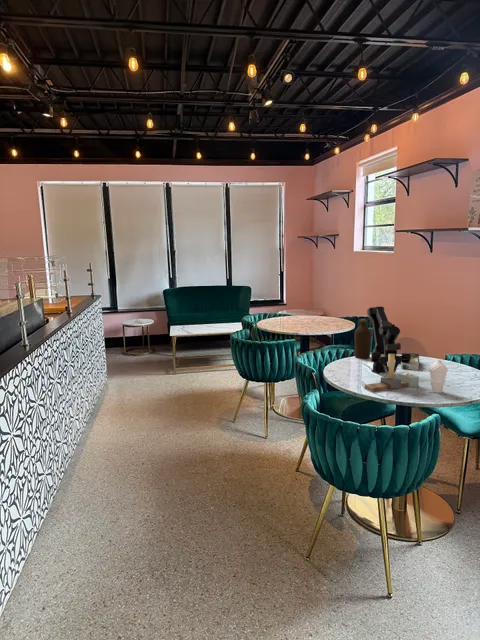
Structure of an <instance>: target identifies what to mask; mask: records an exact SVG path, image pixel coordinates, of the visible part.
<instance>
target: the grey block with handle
mask: <svg viewBox="0 0 480 640" xmlns="http://www.w3.org/2000/svg"><path fill="white" fill-rule="evenodd" d="M387 364H388V372H387V376H381V377H380V382H384V383H387V384H389V385H390V388H395V389H398V388H397V387H401V380H400V379H397V377H395V373H394V367H395V354H393V353H389V354H388V362H387ZM401 388H402V387H401Z"/></svg>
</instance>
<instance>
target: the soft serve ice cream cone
mask: <svg viewBox="0 0 480 640" xmlns="http://www.w3.org/2000/svg"><path fill="white" fill-rule="evenodd" d="M428 371H429V375H430V377H429V378H430V379H429V380H430V385H431V391H432V392H433V393H436V394H440V393H443V390H444V386H445V383H446V378H447V377H446V376H447V373H448V371H449V369H448V367H447V366H446V365H445V363H443V362H442V360H441V359H439V358H438V359H436V360H435V361H434V362H433V363H432V364H431V365H429V367H428Z"/></svg>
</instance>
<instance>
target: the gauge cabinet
mask: <svg viewBox="0 0 480 640" xmlns="http://www.w3.org/2000/svg"><path fill="white" fill-rule="evenodd" d="M396 378H397V379H400V380H402V381H405V382H407V383H408V388H417V387H419V382H420V377H419V376H417V375H414V374H413V373H411V372H406V371H401V372H396Z"/></svg>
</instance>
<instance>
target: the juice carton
mask: <svg viewBox="0 0 480 640" xmlns="http://www.w3.org/2000/svg"><path fill="white" fill-rule="evenodd" d="M408 353H409V352H408ZM409 354H410V355H411V359H410V363H402V362H401V364H400V368H401V370H403V369H405V370H410V369H412V371H413V370H414V371H418V370H419V369H420V368H419V367H420V354H419V353H416V352H415V353H413V352H410V353H409Z"/></svg>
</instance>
